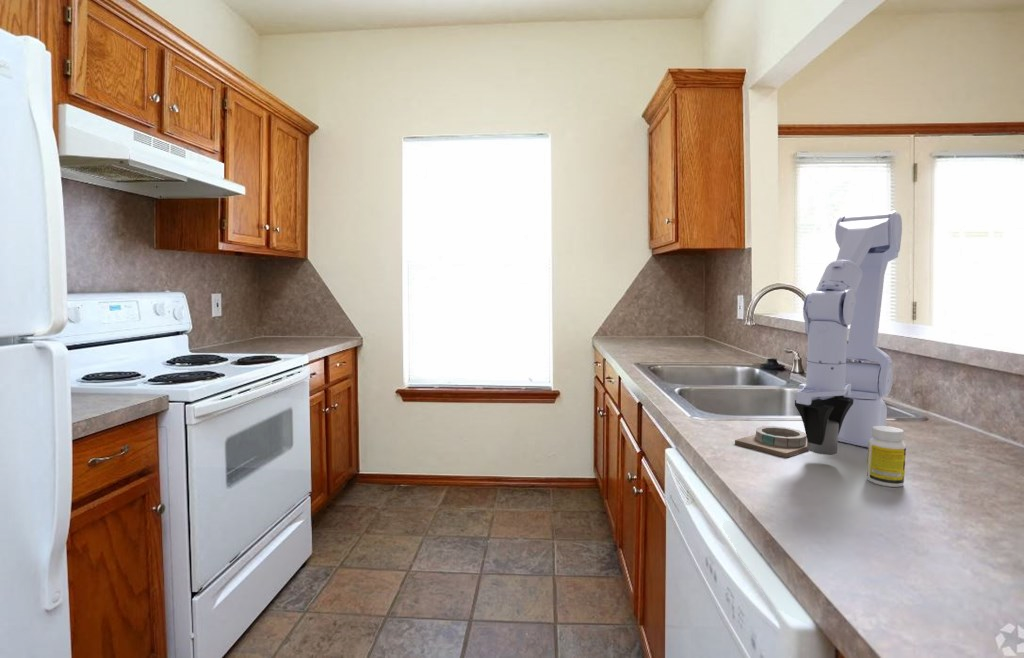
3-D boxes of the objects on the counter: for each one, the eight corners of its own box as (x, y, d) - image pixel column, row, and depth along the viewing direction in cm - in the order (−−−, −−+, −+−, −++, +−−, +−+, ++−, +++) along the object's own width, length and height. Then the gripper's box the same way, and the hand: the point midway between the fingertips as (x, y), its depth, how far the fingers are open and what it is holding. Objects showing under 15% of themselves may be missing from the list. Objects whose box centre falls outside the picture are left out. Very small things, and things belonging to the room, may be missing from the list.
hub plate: (774, 433, 111) (775, 421, 111) (825, 444, 103) (826, 432, 103) (734, 444, 103) (735, 431, 103) (786, 457, 95) (786, 444, 95)
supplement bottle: (910, 489, 81) (913, 433, 80) (875, 486, 82) (878, 431, 81) (894, 477, 85) (897, 425, 85) (861, 475, 86) (864, 424, 86)
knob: (815, 445, 95) (816, 415, 95) (842, 451, 91) (843, 420, 91) (801, 449, 93) (803, 418, 92) (829, 456, 89) (830, 424, 89)
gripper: (822, 356, 98) (819, 429, 99) (779, 362, 90) (776, 442, 91) (865, 360, 92) (861, 438, 94) (823, 368, 84) (819, 452, 85)
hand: (822, 440), depth 92 cm, fingers closed on knob, 4 cm apart
